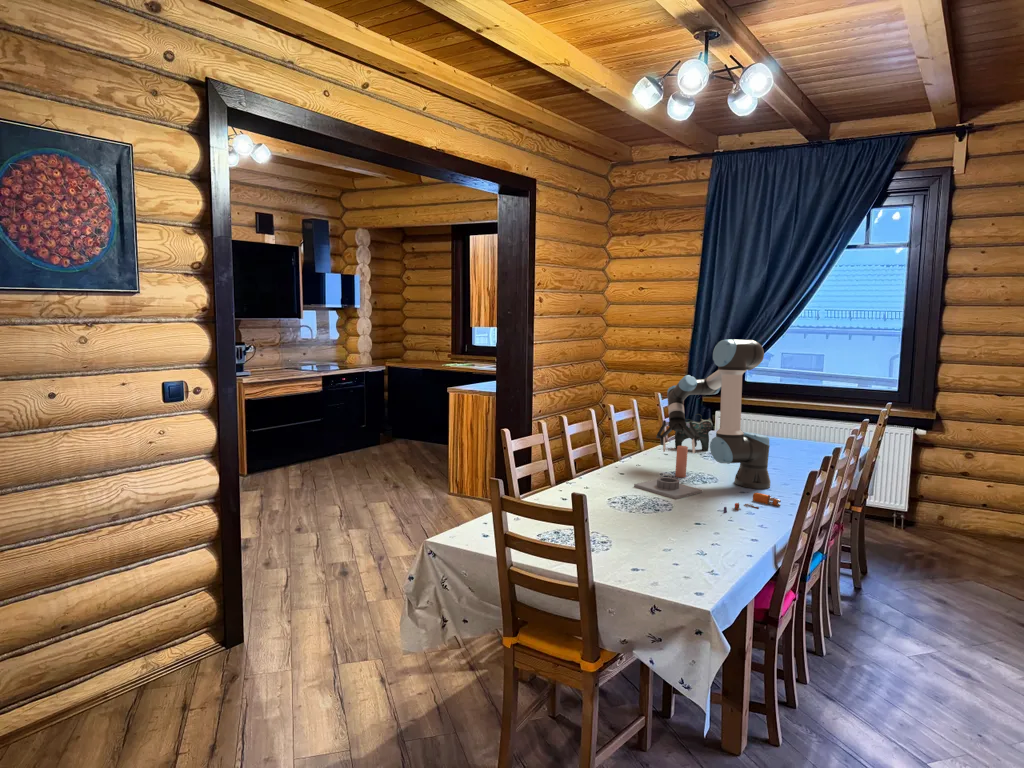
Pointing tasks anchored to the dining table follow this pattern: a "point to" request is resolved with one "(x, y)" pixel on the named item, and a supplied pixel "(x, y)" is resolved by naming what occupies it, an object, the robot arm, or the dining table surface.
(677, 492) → the cradle
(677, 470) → the pink cylindrical peg
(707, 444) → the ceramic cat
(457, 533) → the dining table surface
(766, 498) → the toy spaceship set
